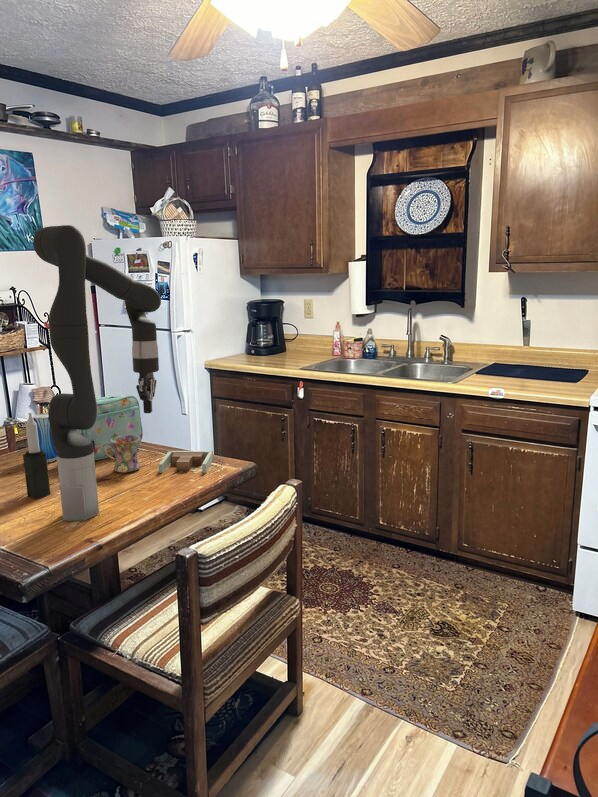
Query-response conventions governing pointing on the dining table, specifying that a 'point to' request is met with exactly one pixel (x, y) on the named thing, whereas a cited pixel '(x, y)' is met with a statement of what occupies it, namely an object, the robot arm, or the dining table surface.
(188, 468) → the t block
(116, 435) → the lunch box
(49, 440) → the beer can
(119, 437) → the mug
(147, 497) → the dining table surface
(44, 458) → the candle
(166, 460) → the bay
